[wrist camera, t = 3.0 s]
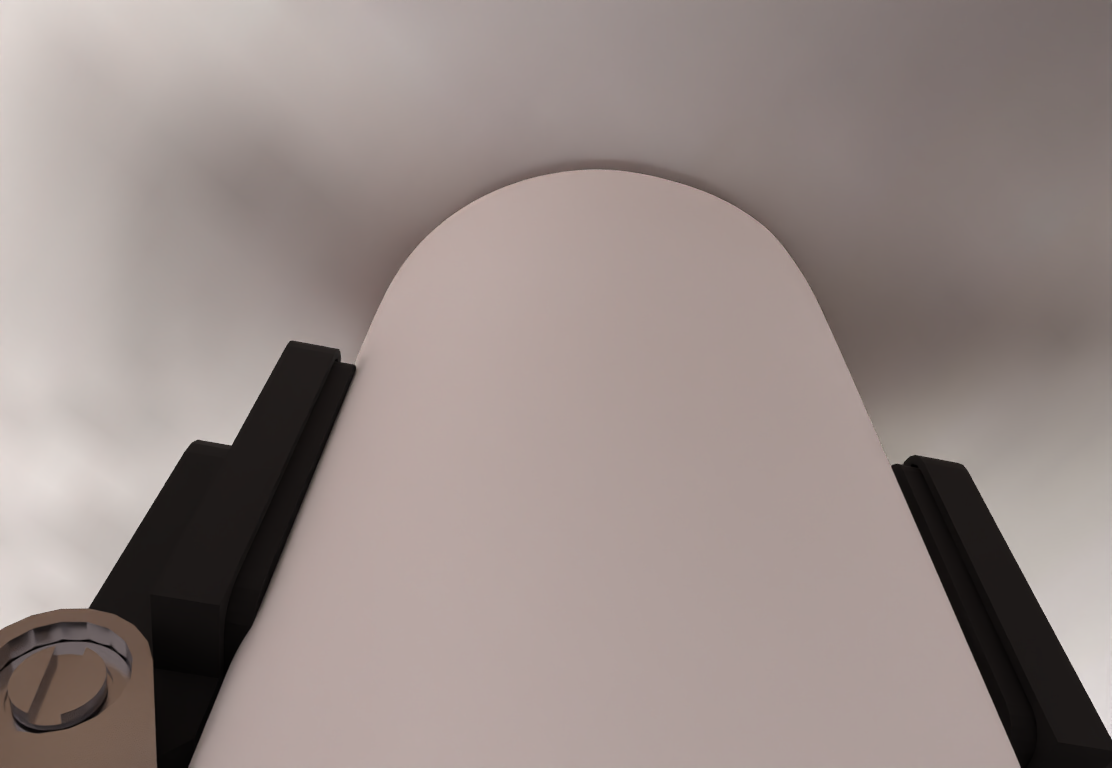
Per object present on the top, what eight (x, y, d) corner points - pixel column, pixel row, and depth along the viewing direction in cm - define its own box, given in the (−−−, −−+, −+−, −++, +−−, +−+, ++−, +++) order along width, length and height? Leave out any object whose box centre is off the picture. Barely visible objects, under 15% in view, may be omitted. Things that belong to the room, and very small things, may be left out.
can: (919, 284, 13) (2108, 2125, 3) (678, 592, 16) (823, 1972, 6) (482, 64, 12) (-312, 2105, 1) (313, 448, 15) (-304, 1922, 5)
